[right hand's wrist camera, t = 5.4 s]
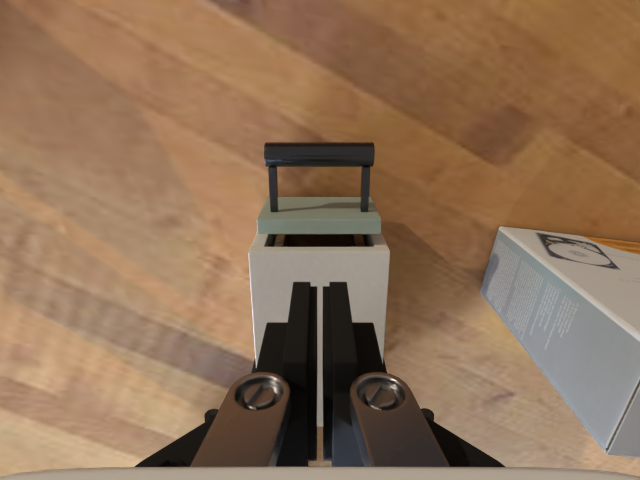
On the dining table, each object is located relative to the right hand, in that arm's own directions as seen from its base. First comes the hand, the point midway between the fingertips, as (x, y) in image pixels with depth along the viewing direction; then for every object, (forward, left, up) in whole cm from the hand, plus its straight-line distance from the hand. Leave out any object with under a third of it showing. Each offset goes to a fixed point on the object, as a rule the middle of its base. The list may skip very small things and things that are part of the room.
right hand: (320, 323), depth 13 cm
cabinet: (-10, -8, -26) cm, 29 cm away
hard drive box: (+7, -25, -26) cm, 37 cm away
